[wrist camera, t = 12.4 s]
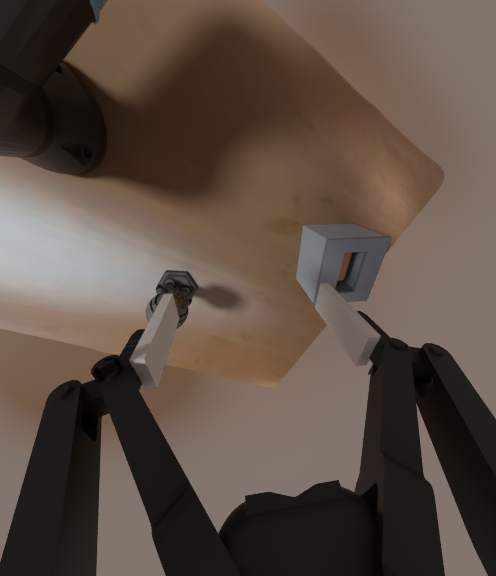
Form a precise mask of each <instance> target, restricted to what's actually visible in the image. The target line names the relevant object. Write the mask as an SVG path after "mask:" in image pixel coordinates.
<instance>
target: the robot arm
mask: <svg viewBox="0 0 496 576" xmlns="http://www.w3.org/2000/svg"><path fill="white" fill-rule="evenodd" d="M106 2H107V0H0V156H10V157H19V158H21V159H23V160H26V161H28V162H30V163H32V164H34V165H37V166H39V167H41V168H43V169H46V170H49V171H52V172H56V173H62V174H82V173H86V172H89V171H91V170H93V169H94V168H95V167H96V166H98V164H99V163H100V162H101V160H102V158H103V156H104V153H105V149H106V130H105V125H104V121H103V118H102V115H101V112H100V110H99V108H98V105H97V103H96V102H95V100H94V98H93V96H92V95H91V93H90V92H89V90H88V89H87V87H86V86H85V85H84V83H83V82H82V81H81V80H80V78H79V77H78V76H77V75H76V74H75V73H74V72H73V71H72V70H71V69H70V68H69V67H67V66H66V65H65V64H64V63H63V62H62V61H63V59H64V58H65V57H66V56H67V54H68V53H69V52H70V50H71V49H72V48H73V46H74V45H75V44H76V42H77V41H78V40H79V39H80V37H81V36H82V35H83V33H84V32H85V31H86V29H87V28H88V27H89V25H90V24H91V23H93V24H97V23H98V21H99V13H100V11H101V10H102V8H103V6H104V5H105V3H106ZM315 308H316V310H317V311H318V313H319V314H320V315H321V317H322V318H323V320H324V321H325V323H326V324H327V325H328V326H329V328H330V330H331V331H332V333H333V334H334V335H335V337H336V338H337V340H338V341H339V343H340V344H341V345H342V347H343V348H344V350H345V351H346V353H347V354H348V355H349V357H350V358H351V359H352V361H353V362H354V364H355V365H356V366H361V365H367V363H368V361H369V359H370V360H371V361H372V363H373V365H372V367H371V369H370V371H369V373H368V374H370V373H371V377H370V385H369V394H368V403H367V413H366V421H365V430H364V439H363V448H362V457H361V467H360V474H359V477H358V480H357V483H356V488H355V492H352V491H351V490H349V489H346V488H343V487H341V486H340V483H339V480H336V481H331V482H324V483H318V484H315V485H314V486H312V487H311V488H309V489H308V490H306V491H304V492H303V493H301V494H300V495H298V496H296V497H290V496H286V495H281V494H277V493H272V492H265V493H259V494H253V495H248V496H245V500H246V503H245V502H244V503H242V504H241V505H239V506H238V507H237V508H236V509H235V510H234V511H233V512H232V513H231V514H230V515H229V516H228V518H227V519H226V521H225V522H224V524H223V526H222V528H221V529H220V531H219V533H217V531H216V529H215V527H214V525H213V524H212V522H211V520H210V518H209V516H208V515H207V513H206V511H205V509H204V507H203V506H202V504H201V502H200V500H199V499H198V497H197V495H196V493H195V491H194V490H193V488H192V486H191V484H190V482H189V480H188V479H187V477H186V475H185V473H184V471H183V470H182V468H181V466H180V464H179V462H178V461H177V459H176V457H175V455H174V454H173V452H172V450H171V448H170V446H169V444H168V443H167V441H166V439H165V437H164V435H163V433H162V432H161V430H160V428H159V426H158V424H157V423H156V421H155V419H154V417H153V415H152V414H151V412H150V410H149V408H148V406H147V405H146V403H145V401H144V399H143V397H142V396H141V394H140V392H139V390H140V387H141V385H142V386H143V388H144V389H154V388H158V384H159V381H160V378H161V375H162V372H163V369H164V365H165V362H166V359H167V356H168V353H169V350H170V347H171V343H172V340H173V337H174V334H175V331H176V328H177V325H178V321H179V315H178V311H177V307H176V304H175V300H174V296H173V294H163V296H162V298H161V300H160V302H159V304H158V306H157V308H156V310H155V312H154V313H153V315H152V317H151V319H150V321H149V323H148V325H147V327H146V329H141V330H137V331H136V332H135V333H134V334H133V335H132V336H131V337H130V339H129V341H128V343H127V344H126V346H125V348H124V349H123V351H122V353H121V354H120V356H118V355H111V356H107V357H105V358H103V359H101V360H100V361H98V362H97V363H96V364H95V365H94V366H93V368H92V370H91V374H92V375H93V377H94V378H95V380H92V381H90V382H87V383H84V384H81V383H80V382H79V381H78V380H71V381H68V382H65V383H63V384H62V385H60V386H58V387H57V388H56V389H54V390H53V391H52V392H51V394H50V395H49V396H48V398H47V401H46V404H45V408H44V411H43V415H42V418H41V422H40V425H39V429H38V432H37V436H36V439H35V443H34V447H33V450H32V453H31V457H30V460H29V464H28V467H27V471H26V474H25V478H24V481H23V485H22V488H21V492H20V495H19V499H18V503H17V506H16V509H15V513H14V516H13V520H12V523H11V527H10V530H9V534H8V537H7V541H6V544H5V548H4V551H3V555H2V559H1V562H0V576H96V564H97V535H98V506H99V478H100V448H101V447H100V446H101V420H102V416H103V415H106V414H108V413H110V416H111V419H112V421H113V424H114V426H115V429H116V432H117V435H118V437H119V440H120V442H121V445H122V448H123V451H124V453H125V456H126V459H127V461H128V464H129V467H130V469H131V472H132V475H133V477H134V480H135V483H136V485H137V488H138V490H139V493H140V496H141V499H142V501H143V504H144V506H145V509H146V512H147V515H148V517H149V520H150V523H151V527H152V537H153V541H154V544H155V547H156V550H157V553H158V555H159V558H160V561H161V564H162V566H163V569H164V572H165V575H166V576H445V573H444V565H443V558H442V550H441V542H440V535H439V527H438V519H437V511H436V504H435V497H434V492H433V488H432V486H431V484H430V483H429V482H428V481H427V480H425V478H424V474H423V466H422V457H421V447H420V437H419V427H418V418H417V408H416V403H417V406H418V408H419V411H420V413H421V416H422V418H423V420H424V423H425V426H426V428H427V431H428V433H429V436H430V438H431V441H432V443H433V446H434V449H435V451H436V454H437V456H438V459H439V461H440V464H441V466H442V469H443V471H444V474H445V476H446V479H447V481H448V484H449V486H450V489H451V491H452V494H453V496H454V499H455V502H456V504H457V507H458V509H459V512H460V514H461V517H462V519H463V522H464V524H465V527H466V529H467V532H468V534H469V536H470V539H471V541H472V543H473V546H474V548H475V550H476V552H477V555H478V556H479V558H480V560H481V562H482V564H483V566H484V568H485V570H486V572H487V574H488V576H496V419H495V417H494V416H493V415H492V413H491V412H490V410H489V409H488V408H487V406H486V405H485V403H484V402H483V400H482V399H481V398H480V396H479V395H478V393H477V392H476V390H475V389H474V387H473V386H472V384H471V383H470V382H469V380H468V379H467V377H466V376H465V374H464V373H463V372H462V370H461V369H460V367H459V366H458V364H457V363H456V361H455V360H454V359H453V357H452V356H451V354H450V353H449V352H448V351H447V350H445V349H444V348H442V347H440V346H438V345H435V344H432V343H426V344H424V345H423V346H422V348H415V347H409V346H408V345H407V344H406V343H404V342H403V341H401V340H399V339H395V338H390V337H389V336H388V335H387V334H386V333H385V332H384V331H383V330H382V329H381V328H380V327H379V326H378V325H376V324H375V322H373V321H372V320H371V319H370V318H369V317H368V316H367V315H366V314H364V313H363V312H361V311H356V310H355V309H354V308H353V307H352V306H350V304H349V303H348V302H347V301H346V300H345V299H344V298H343V297H342V296H341V295H340V294H339V293H338V292H337V291H336V290H335V289H334V288H333V287H332V286H331V285H330V284H329V283H323V284H320V288H319V293H318V297H317V302H316V306H315Z"/></svg>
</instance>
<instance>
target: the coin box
mask: <svg viewBox="0 0 496 576" xmlns="http://www.w3.org/2000/svg"><path fill="white" fill-rule="evenodd" d="M391 238H392V237H389V236H387V235H384V234H381V233H378V232H375V231H373V230H370V229H367V228H364V227H361V226H358V225H356V224H353V223H348V224H321V225H303V232H302V239H301V246H300V254H299V261H298V268H297V275H296V279H297V281H298V282H299V284H300V285H301V286H302V288H303V289H304V291H305V292H306V293H307V295H308V296H309V298H310V299H311V300H312V302H313V303H314V305H316V302H317V297H318V293H319V288H320V284H323V283H329V284H330V285H331V286H332V287H333V288H334V289H335V290H336V291H337V292H338V293H339V294H340V295H341V296H342V297H343V298H344V299H345V300H346V301H347V302H356V301H367V299H368V296H369V294H370V291H371V289H372V286H373V284H374V281H375V279H376V276H377V273H378V271H379V268H380V266H381V263H382V261H383V258H384V256H385V253H386V250H387V248H388V245H389V243H390V240H391ZM348 252H352V254H351V257H350V260H349V264H348V267H347V271H346V274H345V278H344V281H337V280H338V277H339V273H340V269H341V266H342V262H343V258H344V255H345V253H348Z"/></svg>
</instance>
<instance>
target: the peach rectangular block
mask: <svg viewBox="0 0 496 576" xmlns="http://www.w3.org/2000/svg"><path fill="white" fill-rule="evenodd" d="M351 254H352V252H348V253H345V255H344V258H343V262H342V266H341V269H340V273H339V277H338V280H337V281H344V278H345V274H346V271H347V267H348V264H349V260H350V257H351Z"/></svg>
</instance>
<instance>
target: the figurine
mask: <svg viewBox="0 0 496 576" xmlns="http://www.w3.org/2000/svg"><path fill="white" fill-rule="evenodd" d="M197 288H198V286H197V285H196V283H195V282H194V280H193V279H192V277H191V276H190V274H189V273H188V271H170V270H166V272H165V273H164V275H163V277H162V279H161V280H160V282H159V284H158V285H157V287H156V292H157V295H156V296H155V297H154V298H153V299H152V300H151V301H150V302H149V304H148V306H147V308H146V317H147V320H148V322H149V321H150V319H151V317H152V315H153V313H154V312H155V310H156V308H157V306H158V304H159V302H160V300H161V298H162V296H163V294H173V296H174V300H175V304H176V307H177V311H178V315H179V321H178V325H177V328H179V327H180V326H181V325H182V324H183V323H184V322H185V320H186V318H187V315H188V306H189V305H190V304H191V302H192V299H190V298H191V297H192V295H193V294H194V292H195V291H196V290H197ZM177 328H176V329H177Z"/></svg>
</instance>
